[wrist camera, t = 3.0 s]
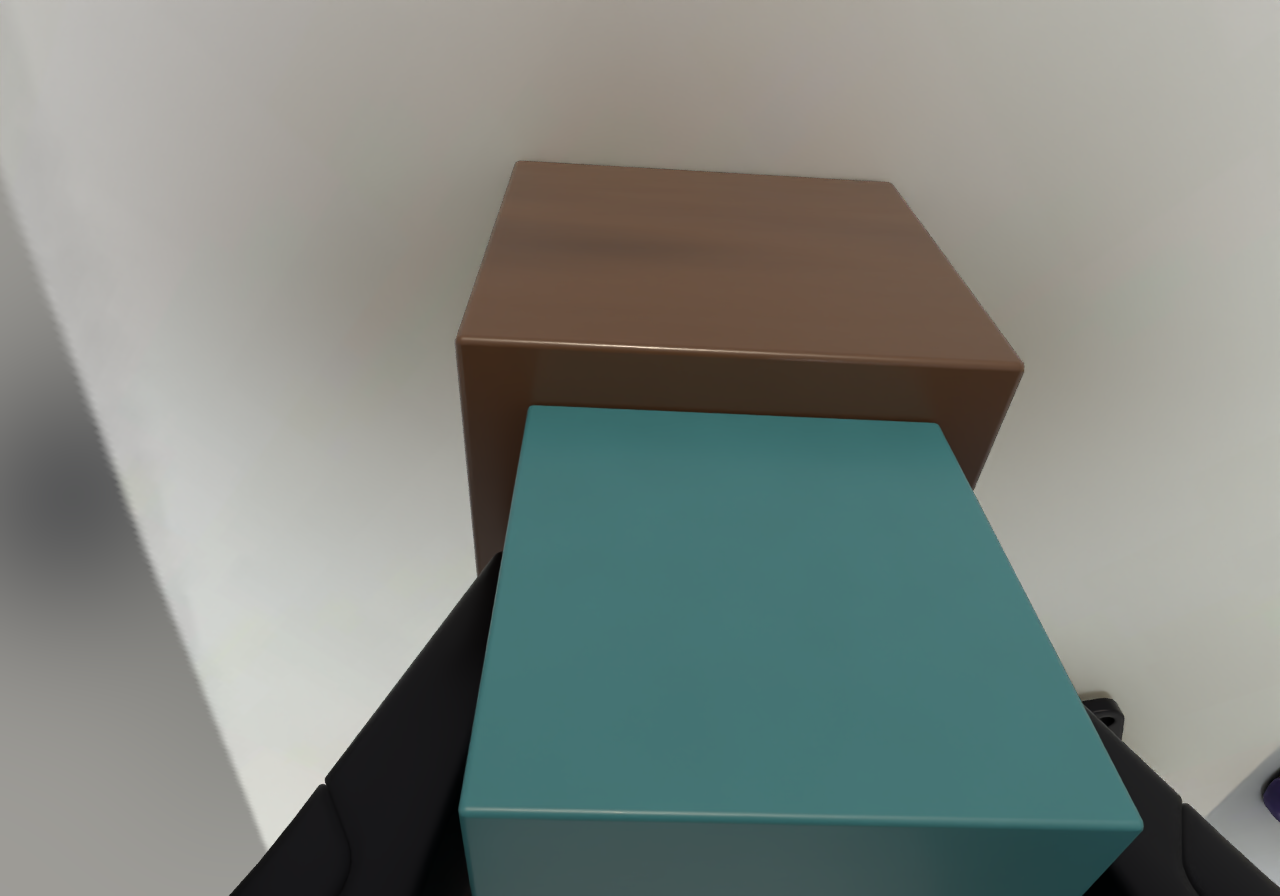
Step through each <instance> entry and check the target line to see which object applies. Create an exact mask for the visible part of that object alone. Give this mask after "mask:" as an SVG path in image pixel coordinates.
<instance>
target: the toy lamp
mask: <svg viewBox="0 0 1280 896" xmlns="http://www.w3.org/2000/svg"><path fill="white" fill-rule="evenodd" d="M1263 796H1264V799H1263V800H1264V803H1265V805H1266V807H1267V808H1268V810H1269V811H1270V812H1271V814H1272V815H1273V816H1274V817H1275V818H1276V819H1277V820H1278V821H1279V822H1280V777H1278V778H1276V779H1274V780H1273V781H1272V782H1271V783H1270V785H1269V786H1268V787H1267V789H1266V790H1265V793H1264V794H1263Z"/></svg>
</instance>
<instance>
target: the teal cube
mask: <svg viewBox="0 0 1280 896" xmlns="http://www.w3.org/2000/svg"><path fill="white" fill-rule="evenodd" d="M458 813H459V819H460V825H461V831H462V838H463V844H464V850H465V857H466V863H467V869H468V876H469V882H470V888H471V894H472V896H1082V895H1083V894H1084V893H1085V892H1086V891H1087V890H1088V889H1089V888H1090V887H1091V886H1092V884H1093V883H1094V882H1095V881H1096V880H1097V879H1098V878H1099V877H1100V876H1101V875H1102V874H1103V873H1104V872H1105V870H1106V869H1107V868H1108V867H1109V866H1110V865H1111V864H1112V863H1113V862H1114V861H1115V860H1116V859H1117V858H1118V857H1119V855H1120V854H1121V853H1122V852H1123V851H1124V850H1125V849H1126V848H1127V847H1128V846H1129V845H1130V844H1131V843H1132V841H1133V840H1134V839H1135V838H1136V837H1137V836H1138V835H1139V834H1140V833H1141V832H1142V831H1143V827H1144V826H1143V820H1142V818H1141V817H1140V815H1139V813H1138V811H1137V809H1136V807H1135V805H1134V803H1133V801H1132V799H1131V797H1130V795H1129V793H1128V791H1127V789H1126V787H1125V785H1124V784H1123V782H1122V780H1121V778H1120V776H1119V774H1118V772H1117V770H1116V768H1115V766H1114V764H1113V762H1112V760H1111V758H1110V756H1109V754H1108V752H1107V751H1106V749H1105V747H1104V745H1103V743H1102V741H1101V739H1100V737H1099V735H1098V733H1097V731H1096V729H1095V727H1094V725H1093V723H1092V721H1091V719H1090V718H1089V716H1088V714H1087V712H1086V710H1085V708H1084V706H1083V704H1082V702H1081V700H1080V698H1079V696H1078V694H1077V692H1076V690H1075V688H1074V686H1073V685H1072V683H1071V681H1070V679H1069V677H1068V675H1067V673H1066V671H1065V669H1064V667H1063V665H1062V663H1061V661H1060V659H1059V657H1058V655H1057V653H1056V652H1055V650H1054V648H1053V646H1052V644H1051V642H1050V640H1049V638H1048V636H1047V634H1046V632H1045V630H1044V628H1043V626H1042V624H1041V622H1040V620H1039V619H1038V617H1037V615H1036V613H1035V611H1034V609H1033V607H1032V605H1031V603H1030V601H1029V599H1028V597H1027V595H1026V593H1025V591H1024V589H1023V587H1022V586H1021V584H1020V582H1019V580H1018V578H1017V576H1016V574H1015V572H1014V570H1013V568H1012V566H1011V564H1010V562H1009V560H1008V558H1007V556H1006V554H1005V553H1004V551H1003V549H1002V547H1001V545H1000V543H999V541H998V539H997V537H996V535H995V533H994V531H993V529H992V527H991V525H990V523H989V521H988V520H987V518H986V516H985V514H984V512H983V510H982V508H981V506H980V504H979V502H978V500H977V498H976V496H975V494H974V492H973V490H972V488H971V486H970V485H969V483H968V481H967V479H966V477H965V475H964V473H963V471H962V469H961V467H960V465H959V463H958V461H957V459H956V457H955V455H954V453H953V452H952V450H951V448H950V446H949V444H948V442H947V440H946V438H945V436H944V434H943V432H942V430H941V428H940V426H939V425H938V424H936V423H927V422H905V421H882V420H860V419H837V418H815V417H792V416H770V415H747V414H725V413H702V412H680V411H657V410H635V409H612V408H590V407H567V406H545V405H532V406H530V407H529V408H528V411H527V416H526V422H525V428H524V434H523V439H522V445H521V451H520V457H519V462H518V468H517V474H516V480H515V485H514V491H513V497H512V503H511V508H510V514H509V520H508V526H507V531H506V537H505V543H504V549H503V554H502V560H501V566H500V572H499V577H498V583H497V589H496V595H495V600H494V606H493V612H492V617H491V623H490V629H489V635H488V640H487V646H486V652H485V658H484V663H483V669H482V675H481V681H480V686H479V692H478V698H477V704H476V709H475V715H474V721H473V727H472V732H471V738H470V744H469V750H468V755H467V761H466V767H465V773H464V778H463V784H462V790H461V796H460V801H459V807H458Z"/></svg>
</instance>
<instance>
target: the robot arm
mask: <svg viewBox="0 0 1280 896" xmlns="http://www.w3.org/2000/svg"><path fill="white" fill-rule="evenodd" d="M502 554H503V551H500V552H498V553H496V554H495V555H494V556H493V557H492V559H491V560H490V561H489V563H488V564H487V565H486V567H485V568H484V569H483V571H482V572H481V573H480V574H479V576H478V577H477V578H476V580H475V581H474V582H473V584H472V585H471V586H470V588H469V589H468V590H467V592H466V593H465V594H464V596H463V597H462V598H461V600H460V601H459V602H458V603H457V605H456V606H455V607H454V609H453V610H452V611H451V613H450V614H449V615H448V617H447V618H446V619H445V621H444V622H443V623H442V625H441V626H440V627H439V628H438V630H437V631H436V632H435V634H434V635H433V636H432V638H431V639H430V640H429V642H428V643H427V644H426V646H425V647H424V648H423V650H422V651H421V652H420V654H419V655H418V656H417V657H416V659H415V660H414V661H413V663H412V664H411V665H410V667H409V668H408V669H407V671H406V672H405V673H404V675H403V676H402V677H401V679H400V680H399V681H398V683H397V684H396V685H395V686H394V688H393V689H392V690H391V692H390V693H389V694H388V696H387V697H386V698H385V700H384V701H383V702H382V704H381V705H380V706H379V708H378V709H377V710H376V712H375V713H374V714H373V715H372V717H371V718H370V719H369V721H368V722H367V723H366V725H365V726H364V727H363V729H362V730H361V731H360V733H359V734H358V735H357V737H356V738H355V739H354V741H353V742H352V743H351V744H350V746H349V747H348V748H347V750H346V751H345V752H344V754H343V755H342V756H341V758H340V759H339V760H338V762H337V763H336V764H335V766H334V767H333V768H332V770H331V771H330V772H329V773H328V775H327V776H326V778H325V783H326V785H325V784H321V785H319V786H318V787H317V789H316V790H315V791H314V793H313V794H312V795H311V797H310V798H309V799H308V801H307V802H306V803H305V805H304V806H303V807H302V809H301V810H300V811H299V813H298V814H297V815H296V817H295V818H294V819H293V820H292V822H291V823H290V824H289V825H288V826H287V828H286V829H285V830H284V831H283V833H282V834H281V835H280V836H279V838H278V839H277V840H276V841H275V843H274V844H273V845H272V846H271V848H270V849H269V850H268V851H267V853H266V854H265V855H264V856H263V858H262V859H261V860H260V862H259V863H258V864H257V865H256V866H255V867H254V868H253V869H252V870H251V872H250V873H249V874H248V875H247V876H246V877H245V878H244V880H243V881H242V882H241V883H240V884H239V885H238V886H237V887H236V889H235V890H234V891H233V892H232V893H231V894H230V895H229V896H472V894H471V888H470V882H469V876H468V869H467V863H466V857H465V850H464V844H463V838H462V831H461V825H460V819H459V813H458V807H459V801H460V796H461V790H462V784H463V778H464V773H465V767H466V761H467V755H468V750H469V744H470V738H471V732H472V727H473V721H474V715H475V709H476V704H477V698H478V692H479V686H480V681H481V675H482V669H483V663H484V658H485V652H486V646H487V640H488V635H489V629H490V623H491V617H492V612H493V606H494V600H495V595H496V589H497V583H498V577H499V572H500V566H501V560H502ZM1081 702H1082V704H1083V706H1084V708H1085V710H1086V712H1087V714H1088V716H1089V718H1090V719H1091V721H1092V723H1093V725H1094V727H1095V729H1096V731H1097V733H1098V735H1099V737H1100V739H1101V741H1102V743H1103V745H1104V747H1105V749H1106V751H1107V752H1108V754H1109V756H1110V758H1111V760H1112V762H1113V764H1114V766H1115V768H1116V770H1117V772H1118V774H1119V776H1120V778H1121V780H1122V782H1123V784H1124V785H1125V787H1126V789H1127V791H1128V793H1129V795H1130V797H1131V799H1132V801H1133V803H1134V805H1135V807H1136V809H1137V811H1138V813H1139V815H1140V817H1141V818H1142V820H1143V826H1144V827H1143V831H1142V832H1141V833H1140V834H1139V835H1138V836H1137V837H1136V838H1135V839H1134V840H1133V841H1132V843H1131V844H1130V845H1129V846H1128V847H1127V848H1126V849H1125V850H1124V851H1123V852H1122V853H1121V854H1120V855H1119V857H1118V858H1117V859H1116V860H1115V861H1114V862H1113V863H1112V864H1111V865H1110V866H1109V867H1108V868H1107V869H1106V870H1105V872H1104V873H1103V874H1102V875H1101V876H1100V877H1099V878H1098V879H1097V880H1096V881H1095V882H1094V883H1093V884H1092V886H1091V887H1090V888H1089V889H1088V890H1087V891H1086V892H1085V893H1084V894H1083V895H1082V896H1280V888H1279V887H1278V886H1277V885H1276V884H1275V883H1274V882H1272V881H1271V880H1270V879H1269V878H1268V877H1267V876H1266V875H1265V874H1264V873H1262V872H1261V871H1260V870H1259V869H1258V868H1257V867H1256V866H1255V865H1254V864H1253V863H1252V862H1250V861H1249V860H1248V859H1247V858H1246V857H1245V856H1244V855H1243V854H1242V853H1241V852H1240V851H1238V850H1237V849H1236V848H1235V847H1234V846H1233V845H1232V844H1231V843H1230V842H1229V841H1228V840H1226V839H1225V838H1224V837H1223V836H1222V835H1221V834H1220V833H1219V832H1218V831H1217V830H1216V829H1215V828H1214V827H1213V826H1211V825H1210V824H1209V823H1208V822H1207V821H1206V820H1205V819H1204V818H1203V817H1202V816H1201V815H1200V814H1199V813H1198V812H1197V811H1196V810H1195V809H1194V808H1192V807H1191V806H1190V805H1189V804H1187V803H1183V804H1182V798H1181V797H1180V796H1179V795H1178V794H1177V793H1176V792H1175V791H1174V790H1173V789H1172V788H1171V787H1170V786H1169V785H1168V784H1167V783H1166V782H1165V781H1164V780H1163V779H1162V778H1161V777H1159V776H1158V775H1157V774H1156V773H1155V772H1154V771H1153V770H1152V769H1151V768H1150V767H1149V766H1148V765H1147V764H1146V763H1145V762H1144V761H1143V760H1142V759H1141V758H1139V757H1138V756H1137V755H1136V754H1135V753H1134V752H1133V751H1132V750H1131V749H1130V748H1129V747H1128V746H1127V745H1126V744H1125V743H1124V742H1123V741H1122V733H1123V726H1124V715H1123V713H1122V712H1121V710H1120V708H1119V706H1118V704H1117V703H1116V702H1115V701H1114V700H1113V699H1108V698H1101V699H1093V700H1087V701H1081Z"/></svg>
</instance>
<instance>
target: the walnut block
mask: <svg viewBox="0 0 1280 896" xmlns="http://www.w3.org/2000/svg"><path fill="white" fill-rule="evenodd" d="M455 349H456V359H457V370H458V380H459V391H460V401H461V412H462V422H463V433H464V443H465V454H466V464H467V475H468V485H469V496H470V507H471V517H472V528H473V538H474V549H475V559H476V570H477V577H478V576H479V574H480V573H481V572H482V571H483V569H484V568H485V567H486V565H487V564H488V563H489V561H490V560H491V559H492V557H493V556H494V555H495V554H496V553H498V552H500V551H503V549H504V543H505V537H506V531H507V526H508V520H509V514H510V508H511V503H512V497H513V491H514V485H515V480H516V474H517V468H518V462H519V457H520V451H521V445H522V439H523V434H524V428H525V422H526V416H527V411H528V408H529V407H530V406H532V405H545V406H567V407H590V408H612V409H635V410H657V411H680V412H702V413H725V414H747V415H770V416H792V417H815V418H837V419H860V420H882V421H905V422H927V423H936V424H938V425H939V426H940V428H941V430H942V432H943V434H944V436H945V438H946V440H947V442H948V444H949V446H950V448H951V450H952V452H953V453H954V455H955V457H956V459H957V461H958V463H959V465H960V467H961V469H962V471H963V473H964V475H965V477H966V479H967V481H968V483H969V485H970V486H971V488H972V490H974V488H975V485H976V483H977V481H978V478H979V476H980V474H981V471H982V469H983V467H984V464H985V462H986V460H987V457H988V455H989V453H990V450H991V448H992V446H993V443H994V441H995V439H996V436H997V434H998V431H999V429H1000V427H1001V424H1002V422H1003V420H1004V417H1005V415H1006V413H1007V410H1008V408H1009V406H1010V403H1011V401H1012V399H1013V396H1014V394H1015V392H1016V389H1017V387H1018V385H1019V382H1020V380H1021V378H1022V375H1023V373H1024V363H1023V362H1022V360H1021V359H1020V358H1019V356H1018V355H1017V353H1016V352H1015V351H1014V349H1013V348H1012V347H1011V345H1010V344H1009V342H1008V341H1007V340H1006V338H1005V337H1004V336H1003V334H1002V333H1001V332H1000V330H999V329H998V327H997V326H996V325H995V323H994V322H993V321H992V319H991V318H990V317H989V315H988V314H987V312H986V311H985V310H984V308H983V307H982V306H981V304H980V303H979V301H978V300H977V299H976V297H975V296H974V295H973V293H972V292H971V291H970V289H969V288H968V286H967V285H966V284H965V282H964V281H963V280H962V278H961V277H960V276H959V274H958V273H957V271H956V270H955V269H954V267H953V266H952V265H951V263H950V262H949V260H948V259H947V258H946V256H945V255H944V254H943V252H942V251H941V250H940V248H939V247H938V245H937V244H936V243H935V241H934V240H933V239H932V237H931V236H930V234H929V233H928V232H927V230H926V229H925V228H924V226H923V225H922V224H921V222H920V221H919V219H918V218H917V217H916V215H915V214H914V213H913V211H912V210H911V209H910V207H909V206H908V204H907V203H906V202H905V200H904V199H903V198H902V196H901V195H900V193H899V192H898V191H897V189H896V188H895V187H894V185H893V184H891V183H889V182H875V181H858V180H840V179H823V178H806V177H789V176H772V175H755V174H738V173H721V172H704V171H687V170H670V169H653V168H636V167H619V166H601V165H584V164H567V163H550V162H533V161H518V162H516V163H515V165H514V168H513V171H512V174H511V177H510V180H509V183H508V186H507V189H506V192H505V195H504V198H503V201H502V204H501V207H500V210H499V212H498V215H497V218H496V221H495V224H494V227H493V230H492V233H491V236H490V239H489V242H488V245H487V248H486V251H485V254H484V257H483V260H482V263H481V266H480V269H479V271H478V274H477V277H476V280H475V283H474V286H473V289H472V292H471V295H470V298H469V301H468V304H467V307H466V310H465V313H464V316H463V319H462V322H461V325H460V327H459V330H458V333H457V336H456V339H455Z"/></svg>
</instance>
